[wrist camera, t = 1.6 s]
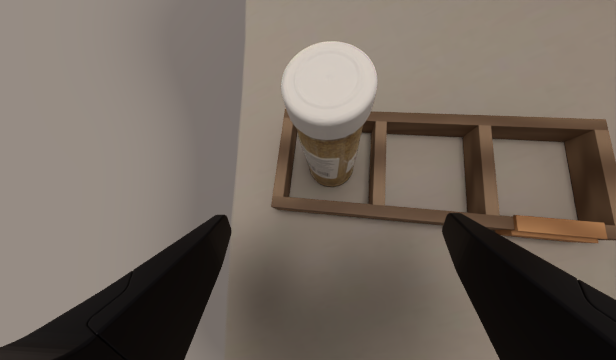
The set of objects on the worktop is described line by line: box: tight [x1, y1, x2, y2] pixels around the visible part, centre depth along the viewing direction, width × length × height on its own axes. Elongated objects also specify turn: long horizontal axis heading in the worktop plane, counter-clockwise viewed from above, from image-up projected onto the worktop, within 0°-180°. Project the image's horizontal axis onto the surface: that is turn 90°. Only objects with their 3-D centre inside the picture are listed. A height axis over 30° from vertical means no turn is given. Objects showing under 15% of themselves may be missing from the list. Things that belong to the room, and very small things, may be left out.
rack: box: [271, 109, 616, 243], centre depth 20 cm, size 10×28×3 cm, turn 84°
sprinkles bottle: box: [281, 41, 378, 187], centre depth 16 cm, size 5×5×13 cm
